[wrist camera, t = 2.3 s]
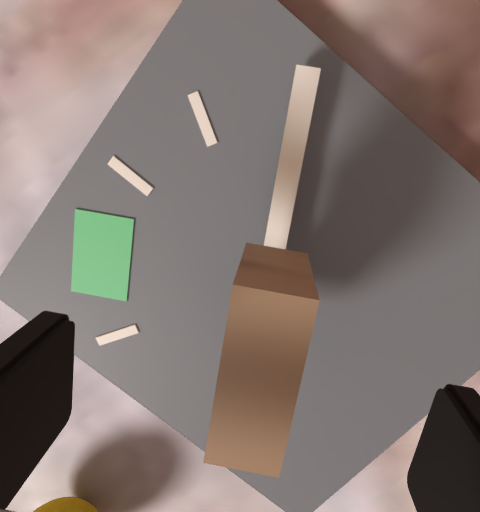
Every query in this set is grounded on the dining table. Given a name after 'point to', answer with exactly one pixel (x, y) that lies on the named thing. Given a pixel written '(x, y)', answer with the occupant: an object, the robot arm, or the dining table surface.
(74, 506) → the lemon
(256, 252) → the wooden block with handle
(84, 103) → the dining table surface
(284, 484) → the board
